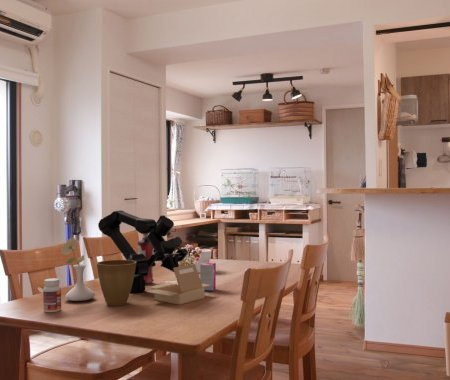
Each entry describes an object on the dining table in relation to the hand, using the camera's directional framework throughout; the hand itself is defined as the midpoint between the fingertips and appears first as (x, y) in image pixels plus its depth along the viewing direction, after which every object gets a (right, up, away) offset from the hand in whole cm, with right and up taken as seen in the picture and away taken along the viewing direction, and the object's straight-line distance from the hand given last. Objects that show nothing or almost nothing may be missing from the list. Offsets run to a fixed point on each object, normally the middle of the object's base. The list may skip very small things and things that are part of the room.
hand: (179, 273), depth 203 cm
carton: (-2, -10, +2) cm, 10 cm away
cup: (+5, -10, +64) cm, 65 cm away
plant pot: (-23, -11, -7) cm, 26 cm away
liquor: (-18, -10, +33) cm, 39 cm away
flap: (+5, -5, -4) cm, 9 cm away
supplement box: (+11, -10, +17) cm, 22 cm away
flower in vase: (-40, -11, 0) cm, 41 cm away
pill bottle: (-45, -11, -16) cm, 49 cm away
